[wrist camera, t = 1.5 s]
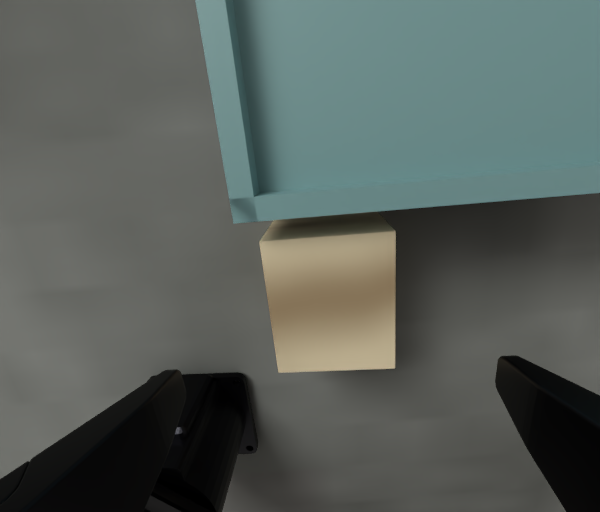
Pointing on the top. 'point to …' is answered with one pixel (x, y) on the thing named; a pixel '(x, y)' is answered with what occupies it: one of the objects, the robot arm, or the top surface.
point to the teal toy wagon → (402, 102)
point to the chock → (331, 292)
